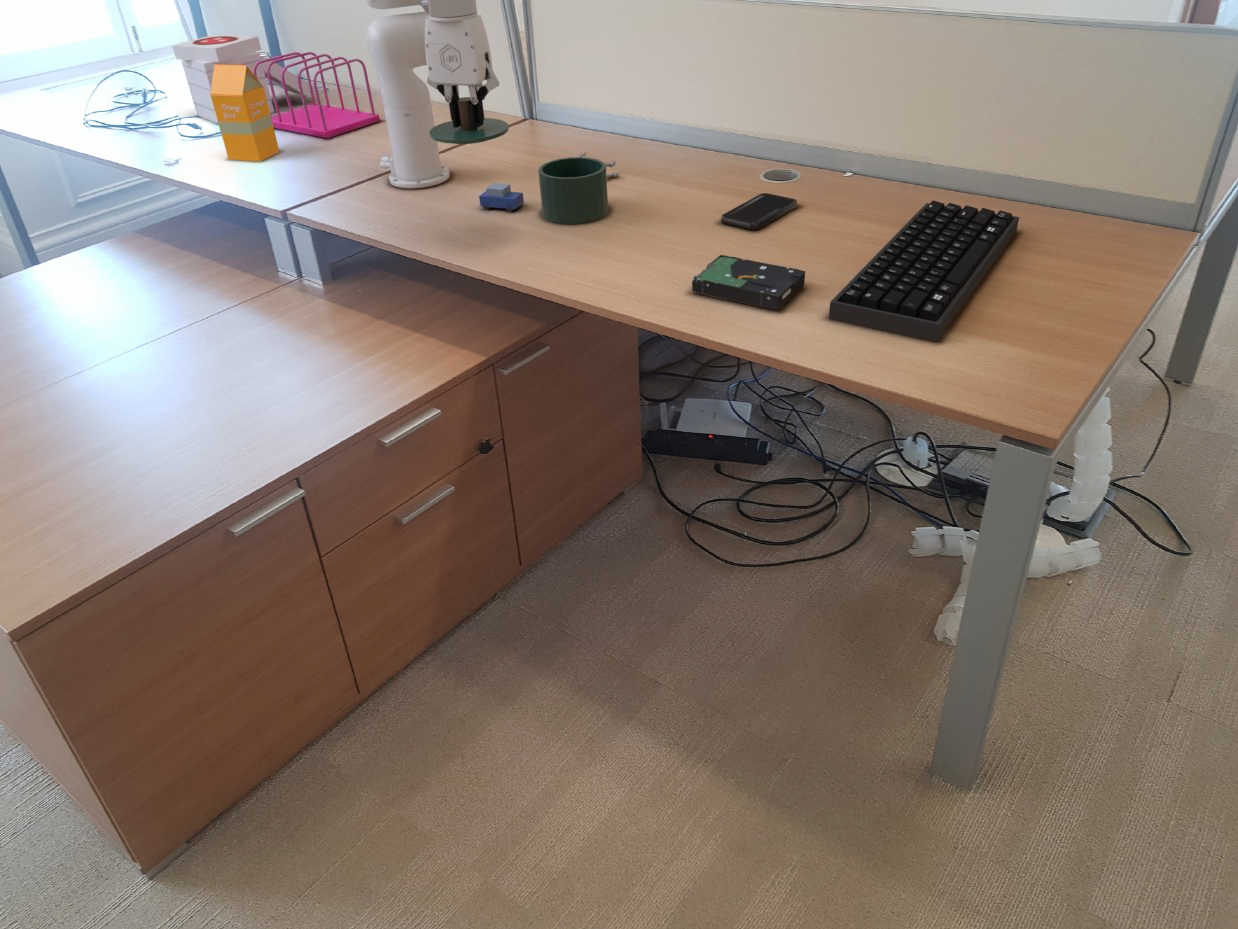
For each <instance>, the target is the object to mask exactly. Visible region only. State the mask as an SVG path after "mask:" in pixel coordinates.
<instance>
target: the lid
mask: <svg viewBox="0 0 1238 929" xmlns="http://www.w3.org/2000/svg"><path fill="white" fill-rule="evenodd" d="M469 104H471V98H470V96H462V97H459V99H457V106H458V113H459V120H460V126H459V127H457V128H456V127H453V121H452V120H450V121H446V122H442V123H440V124H437V125H435V127H433V128H432V129H431V130H430V137H431V138H432V139H433V140H435V141H437V143H438V142H439V143H444V144H452V145H472V144H480V143H484V142H488V141H491V140H494V139H497V138H500V137H503V136H504V135H505V134H507V133H508V132H509V130H510V129H509V128H510V126H509V123H508V122H506V121H504V120H502V119H499V118H492V117H484V124H483V125H482V126H480V127H478V128H477V129H473V128H472V126H471V119H470V112H469Z"/></svg>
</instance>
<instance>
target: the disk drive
mask: <svg viewBox="0 0 1238 929" xmlns="http://www.w3.org/2000/svg"><path fill="white" fill-rule="evenodd" d="M705 267H706V268H703V269H702V270H700V272H699V273H697V274H696V275H694V276H693V279H692V281H691V292H695V293H696V294H700V295H704V296H709V297H713V298H718V299H722V300H726V301H730V302H731V301H732V302H737V303H741V304H745V305H750V306H754V307H760V308H764V309H769V310H778V311H779V310H780V309H781V308H782V307H783V306H785V304H787V302H788V301H790V300H791V298H792V297H794V296H795V295H796V294H797V293H798V292H799V291H800V290H801V289H802V287H803V286H804V285H805V282H806V281H805V280H806V271H805V270H801V269H799V268H793V267H787V266H783V265H778V264H771V263H766V262H762V261H755V260H751V259H746V258H745V259H744V258H740V257H736V256H730V255H725V254H720V255H718V256H717V257H716V258H715V259H713V260H712V261H710V262H709V263H708V264H707V265H706V266H705Z"/></svg>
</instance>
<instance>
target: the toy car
mask: <svg viewBox="0 0 1238 929" xmlns="http://www.w3.org/2000/svg"><path fill="white" fill-rule="evenodd" d="M478 200H479V206H480V207H482V208H483V209H484V210H489V209H491V208H498V209H505V210H506V211H507V212H509V213H512V212H513V211H514V210H517V209H518V208H519V207H520V206H522V205H523V204H524V203H525V200H524V193H523V192H522V191H521V192H520V191H512V189H511V184H510V183H497V182H493V183H492V184H490V185H489V186H487V187H486V189H485V191H484V192H483V193H481V194H479V195H478Z"/></svg>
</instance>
